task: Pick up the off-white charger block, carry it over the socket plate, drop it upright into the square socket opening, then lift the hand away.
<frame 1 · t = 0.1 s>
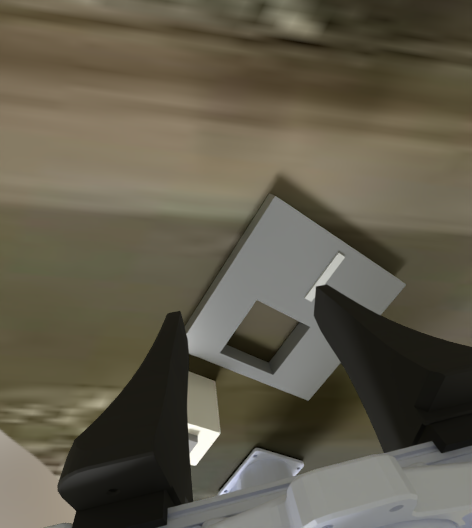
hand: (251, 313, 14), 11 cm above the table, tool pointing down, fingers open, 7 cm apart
socket plate: (288, 306, 27), on the table
charger block: (187, 389, 29), on the table
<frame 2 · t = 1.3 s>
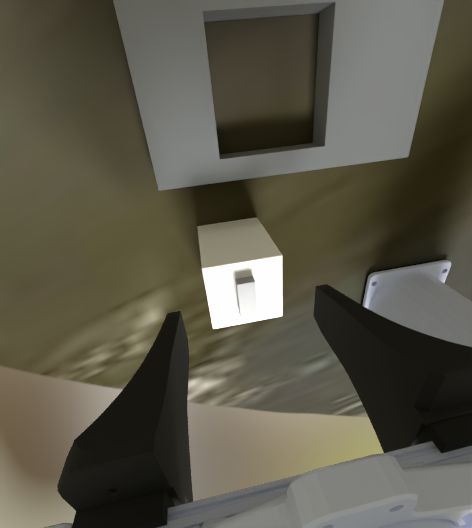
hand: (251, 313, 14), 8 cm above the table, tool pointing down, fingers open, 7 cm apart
socket plate: (279, 8, 14), on the table
charger block: (230, 248, 21), on the table
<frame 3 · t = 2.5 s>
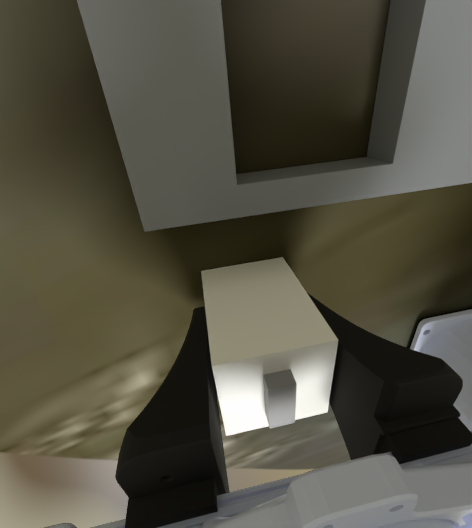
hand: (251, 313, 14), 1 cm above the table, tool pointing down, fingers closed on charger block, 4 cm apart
charger block: (245, 296, 15), on the table, touching gripper
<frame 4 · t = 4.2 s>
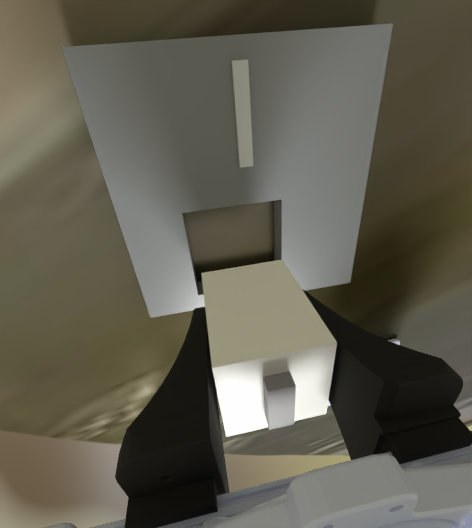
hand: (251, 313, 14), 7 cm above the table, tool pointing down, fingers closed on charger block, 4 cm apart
socket plate: (242, 191, 18), on the table
charger block: (245, 298, 15), point 6 cm above the table, touching gripper
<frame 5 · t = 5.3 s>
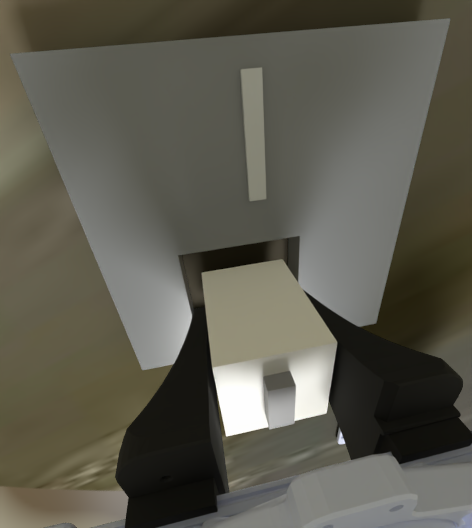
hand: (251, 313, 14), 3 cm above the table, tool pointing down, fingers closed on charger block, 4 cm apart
socket plate: (251, 224, 15), on the table
charger block: (245, 298, 15), point 2 cm above the table, touching gripper
when the fingers open (3 cm above the table, at t = 6.1 s): charger block drops 2 cm, resting in socket plate.
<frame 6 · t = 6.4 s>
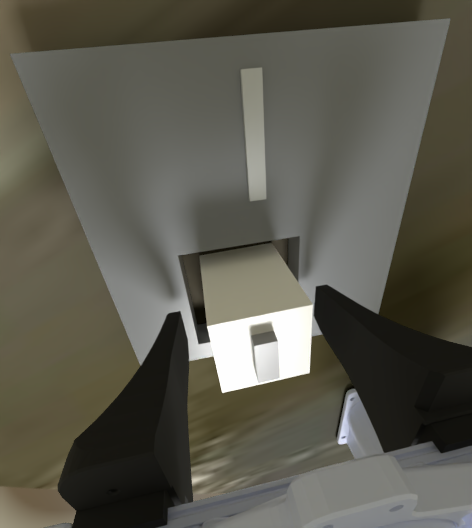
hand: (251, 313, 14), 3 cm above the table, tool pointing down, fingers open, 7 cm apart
socket plate: (251, 224, 15), on the table
charger block: (239, 279, 17), resting in socket plate
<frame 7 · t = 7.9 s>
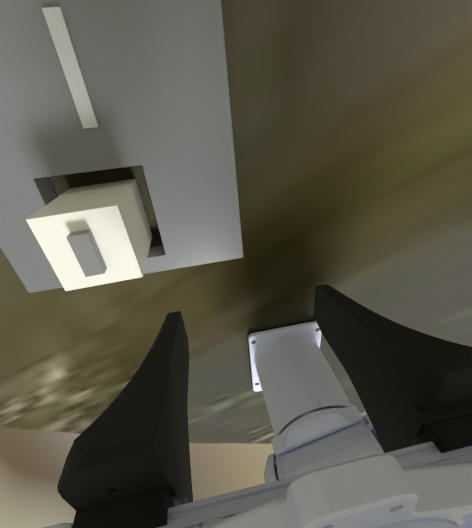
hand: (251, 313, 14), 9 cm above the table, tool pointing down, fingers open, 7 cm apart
socket plate: (110, 159, 18), on the table
charger block: (114, 213, 19), resting in socket plate
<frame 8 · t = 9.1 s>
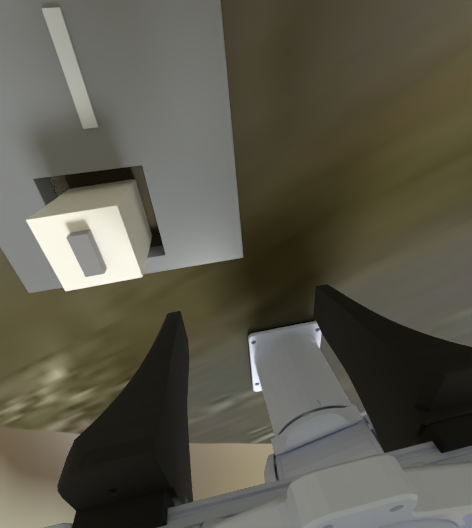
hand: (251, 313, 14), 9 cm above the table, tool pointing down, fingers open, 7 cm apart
socket plate: (110, 159, 18), on the table
charger block: (113, 213, 20), resting in socket plate
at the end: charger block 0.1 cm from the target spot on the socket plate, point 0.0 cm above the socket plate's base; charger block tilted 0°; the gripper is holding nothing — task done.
